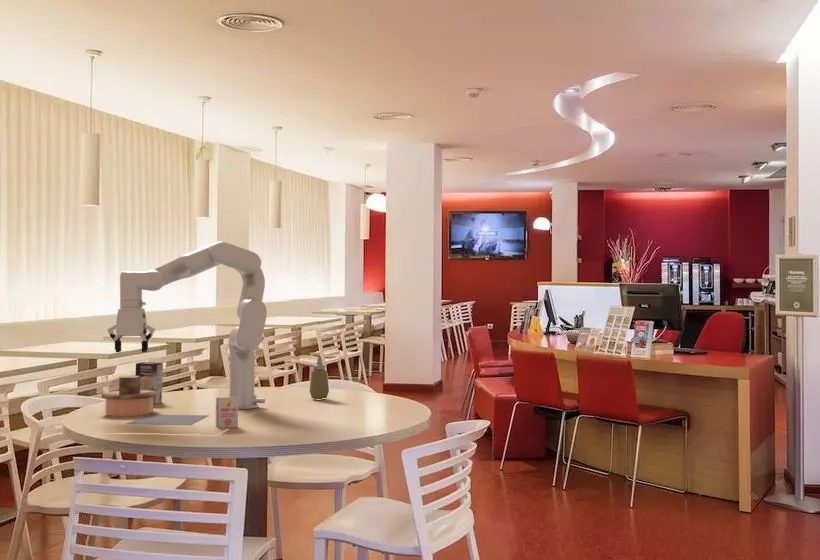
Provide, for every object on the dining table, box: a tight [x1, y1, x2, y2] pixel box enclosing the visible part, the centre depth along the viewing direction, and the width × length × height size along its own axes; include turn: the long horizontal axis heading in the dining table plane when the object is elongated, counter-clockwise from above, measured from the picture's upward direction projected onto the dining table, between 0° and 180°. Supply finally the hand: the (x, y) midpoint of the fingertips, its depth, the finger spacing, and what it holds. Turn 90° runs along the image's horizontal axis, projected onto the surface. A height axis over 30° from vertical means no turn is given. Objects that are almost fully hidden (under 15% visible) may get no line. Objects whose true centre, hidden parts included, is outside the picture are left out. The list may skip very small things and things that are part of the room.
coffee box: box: [135, 361, 164, 405], centre depth 308 cm, size 9×6×16 cm
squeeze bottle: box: [309, 356, 330, 399], centre depth 322 cm, size 8×8×18 cm
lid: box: [101, 375, 157, 400], centre depth 280 cm, size 19×19×7 cm
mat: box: [126, 413, 210, 426], centre depth 265 cm, size 22×20×1 cm
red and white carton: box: [215, 396, 239, 429], centre depth 254 cm, size 4×7×10 cm, turn 109°
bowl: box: [104, 397, 154, 417], centre depth 280 cm, size 16×16×6 cm
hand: (131, 351), depth 281 cm, fingers open, 9 cm apart
